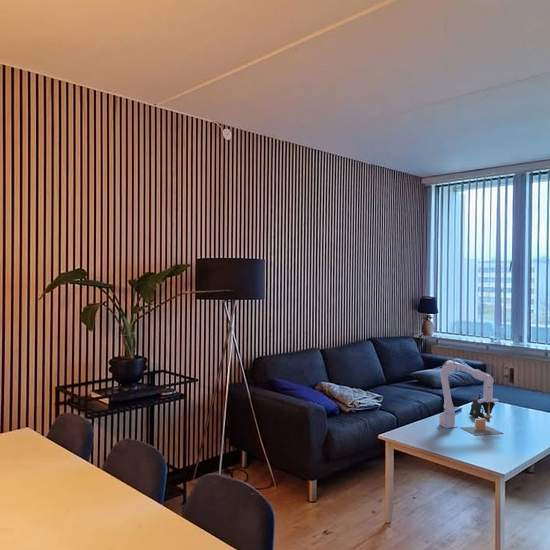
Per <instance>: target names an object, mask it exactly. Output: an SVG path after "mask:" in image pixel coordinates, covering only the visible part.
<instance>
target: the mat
mask: <svg viewBox="0 0 550 550" xmlns="http://www.w3.org/2000/svg"><path fill="white" fill-rule="evenodd" d="M460 428H461V429H462V430H463V431H466V432H468V433H469V434H472V435H474V436H477V437H478V436H491V435H503V434H504V433H503V432H501V431H499V430H497V429H495V428H492V427H491V426H489V425H486V430H475V426H464V427H460Z"/></svg>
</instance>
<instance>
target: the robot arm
mask: <svg viewBox="0 0 550 550" xmlns="http://www.w3.org/2000/svg"><path fill="white" fill-rule="evenodd" d="M460 370H461V371H463V372H466V373H468V374H471V377H473V378H474V379H476V380H479V381H481V382H483V391H482V393H483V395H482V396H483V398H480V399H479V400H478V403H481V404H482V408H483V410H484V411H483V413H484V414H485V415H486V414H488V406H489V404H487V403H490V415H491V414H492V411H493V408H494V407H495V405H496V403H499V400H500V399H498V398H494V397H493V394H494V390H493V389H494V387H493V384H494V382H495V380H494V378H493V377H492V376H491V374H489V373H487V372H484V371H481V370H480V369H478V368H476V369H472V368H470V367H468V366H466V365H464V364H462V363H459V362H457V361H454V360H452V359H449V360H446V361H445V362H444V363H443V365H442V367H441V370H440V372H439V375H440V381H441V388H442V393H443V400H444V401H443V402H444V403H443V408H444V410H443V412H442V413H439V423H438V425H439V426H440V427H443V428H447V429H448V428H449V429H450V428H458V425H456V424H455V423H456V422H455V421H456V412H455V411H456V407H455V406H454V404H453V401H452V394H451V388H450V382H449V377H448V376H449V375H450V374H451V373H453V372H455V371H460Z"/></svg>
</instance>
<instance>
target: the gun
mask: <svg viewBox="0 0 550 550" xmlns="http://www.w3.org/2000/svg"><path fill="white" fill-rule="evenodd" d="M479 399H481V394H479V395H478V396H477V397H473V398H472V403H471V405H470V410H469V413H468V415H469V416H471V417H473V418H474V419H479V418H480V419H483V418H484V419H486V422H489V421H490V420H491V418H486V417H484V415H486V413H484V408H483V406H482V404H481V403H478V400H479Z"/></svg>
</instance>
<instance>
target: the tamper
mask: <svg viewBox="0 0 550 550" xmlns="http://www.w3.org/2000/svg"><path fill="white" fill-rule="evenodd" d="M487 404H489V406H488V414H486V413H485V415H484V417H486V418H490V419H492V418H493V416H492V415H491V414H490V403H487Z"/></svg>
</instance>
